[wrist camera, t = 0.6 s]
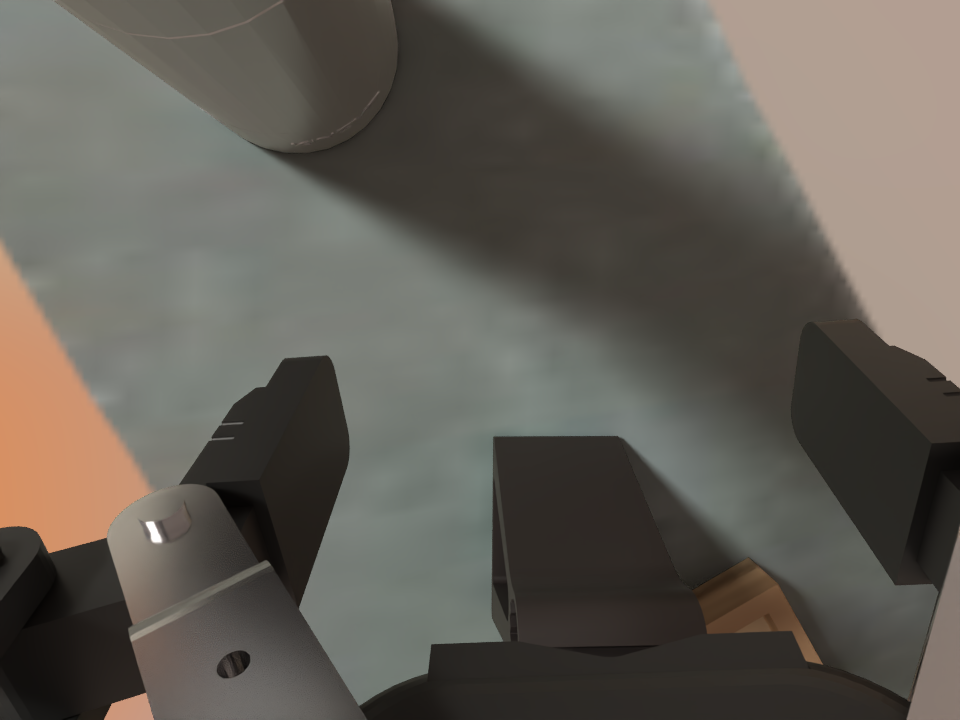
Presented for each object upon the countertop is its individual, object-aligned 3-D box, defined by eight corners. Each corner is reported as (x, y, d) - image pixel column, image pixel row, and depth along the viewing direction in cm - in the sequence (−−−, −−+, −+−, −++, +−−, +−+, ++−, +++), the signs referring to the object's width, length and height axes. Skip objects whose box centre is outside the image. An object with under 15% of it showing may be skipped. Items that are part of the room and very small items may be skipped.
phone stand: (493, 434, 32) (520, 519, 20) (617, 434, 33) (716, 519, 21) (490, 614, 33) (514, 796, 21) (611, 612, 34) (701, 792, 22)
